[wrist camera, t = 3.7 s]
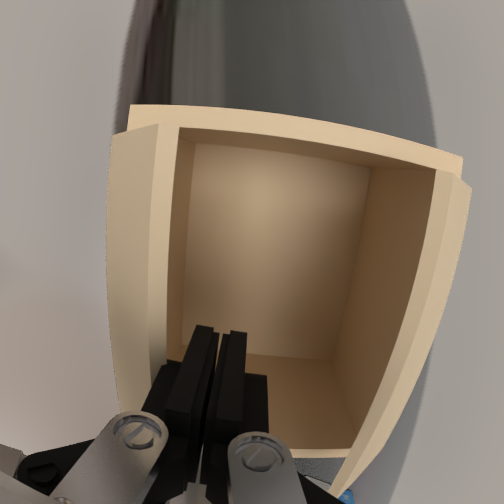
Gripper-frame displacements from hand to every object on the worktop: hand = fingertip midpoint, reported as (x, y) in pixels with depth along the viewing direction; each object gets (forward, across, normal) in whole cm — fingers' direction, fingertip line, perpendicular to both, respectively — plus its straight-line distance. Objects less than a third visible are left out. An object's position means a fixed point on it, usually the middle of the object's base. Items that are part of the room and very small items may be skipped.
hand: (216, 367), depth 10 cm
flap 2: (+1, -7, 0) cm, 7 cm away
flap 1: (+1, +3, 0) cm, 3 cm away
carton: (+13, -2, 0) cm, 13 cm away
